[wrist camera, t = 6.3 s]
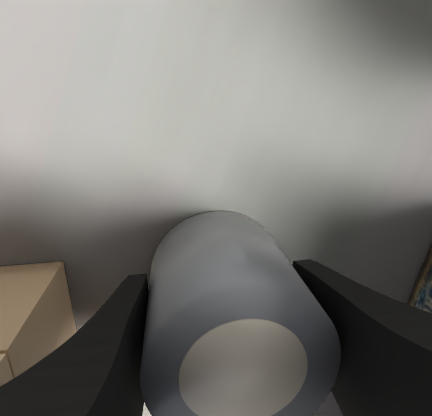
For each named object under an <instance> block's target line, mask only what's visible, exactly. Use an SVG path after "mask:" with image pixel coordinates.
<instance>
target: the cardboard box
mask: <svg viewBox="0 0 432 416" xmlns="http://www.w3.org/2000/svg"><path fill="white" fill-rule="evenodd" d="M76 332H77V330H76V325H75V320H74V315H73V309H72V304H71V299H70V294H69V289H68V284H67V279H66V273H65V268H64V263H63V261H61V262H49V263H36V264H24V265H12V266H0V354H6V356H7V359H8V363H9V366H10V370H11V373H12V376H13V378H15V377H17V376H18V375H20V374H21V373H23V372H24V371H26V370H27V369H29V368H30V367H32V366H33V365H35V364H36V363H37V362H39V361H40V360H42V359H43V358H44V357H46V356H47V355H49V354H50V353H51V352H53V351H54V350H55V349H57V348H58V347H59V346H61V345H62V344H63V343H64V342H65V341H67V340H68V339H69V338H70V337H71V336H73V335H74V334H75V333H76Z"/></svg>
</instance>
